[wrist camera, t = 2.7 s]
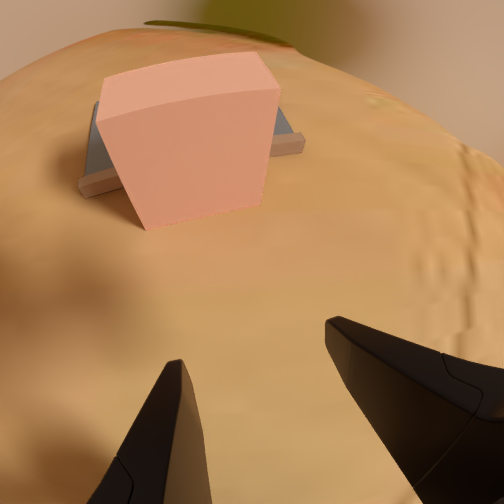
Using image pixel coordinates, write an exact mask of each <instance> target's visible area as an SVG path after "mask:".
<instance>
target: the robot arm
mask: <svg viewBox="0 0 504 504" xmlns="http://www.w3.org/2000/svg"><path fill="white" fill-rule="evenodd" d="M325 345H326V348H327V350H328V352H329V354H330V356H331V358H332V360H333V362H334V364H335V366H336V368H337V370H338V372H339V374H340V376H341V378H342V380H343V382H344V384H345V386H346V388H347V389H348V391H349V392H350V394H351V396H352V397H353V399H354V400H355V402H356V403H357V405H358V406H359V408H360V409H361V411H362V412H363V414H364V415H365V417H366V418H367V420H368V421H369V423H370V424H371V426H372V427H373V429H374V430H375V432H376V433H377V435H378V436H379V438H380V439H381V441H382V442H383V444H384V445H385V447H386V448H387V450H388V451H389V453H390V454H391V456H392V457H393V459H394V460H395V462H396V463H397V465H398V466H399V468H400V469H401V471H402V472H403V474H404V475H405V477H406V478H407V480H408V481H409V483H410V484H411V486H412V487H413V489H414V491H415V492H416V494H417V495H418V497H419V498H420V500H421V501H422V503H423V504H504V369H502V368H497V367H493V366H488V365H483V364H479V363H475V362H471V361H467V360H464V359H460V358H457V357H454V356H451V355H448V354H445V353H440V352H439V351H436V350H433V349H430V348H427V347H424V346H421V345H418V344H415V343H413V342H410V341H407V340H404V339H401V338H398V337H396V336H393V335H390V334H387V333H385V332H382V331H379V330H376V329H373V328H371V327H368V326H365V325H363V324H360V323H357V322H354V321H352V320H349V319H346V318H344V317H341V316H336V317H333V318H330V319H327V320H326V322H325ZM116 455H117V456H115V457H114V459H113V461H112V463H111V465H110V466H109V468H108V470H107V472H106V473H105V475H104V477H103V479H102V480H101V482H100V484H99V485H98V487H97V488H96V490H95V491H94V493H93V494H92V496H91V497H90V499H89V500H88V502H87V503H86V504H212V499H211V493H210V486H209V478H208V471H207V463H206V455H205V446H204V437H203V430H202V426H201V421H200V417H199V412H198V408H197V403H196V399H195V394H194V389H193V385H192V381H191V379H190V376H189V374H188V371H187V369H186V367H185V364H184V362H183V360H181V359H178V360H173V361H169V362H167V363H166V365H165V367H164V369H163V370H162V372H161V374H160V376H159V378H158V379H157V381H156V383H155V385H154V386H153V388H152V390H151V392H150V394H149V395H148V397H147V399H146V401H145V403H144V404H143V406H142V408H141V410H140V412H139V413H138V415H137V417H136V419H135V421H134V422H133V424H132V426H131V428H130V430H129V432H128V433H127V435H126V437H125V439H124V441H123V443H122V444H121V446H120V448H119V450H118V452H117V454H116Z"/></svg>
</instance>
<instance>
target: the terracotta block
mask: <svg viewBox="0 0 504 504" xmlns="http://www.w3.org/2000/svg"><path fill="white" fill-rule="evenodd" d="M280 93H281V87H280V86H279V84H278V83H277V81H276V80H275V78H274V77H273V75H272V74H271V73H270V71H269V70H268V68H267V67H266V65H265V64H264V63H263V61H262V60H261V59H260V57H259V56H258V54H257V53H256V52H240V53H228V54H218V55H209V56H201V57H194V58H188V59H182V60H176V61H171V62H166V63H161V64H156V65H151V66H147V67H143V68H139V69H135V70H131V71H127V72H124V73H120V74H117V75H113V76H110V77H107V78H105V79H104V83H103V87H102V92H101V96H100V101H99V106H98V111H97V116H96V122H95V123H96V125H97V128H98V130H99V132H100V135H101V137H102V140H103V142H104V144H105V146H106V149H107V151H108V153H109V156H110V158H111V160H112V162H113V165H114V167H115V169H116V171H117V173H118V175H119V178H120V180H121V182H122V184H123V186H124V188H125V190H126V192H127V194H128V196H129V198H130V200H131V202H132V204H133V206H134V208H135V210H136V212H137V214H138V216H139V218H140V220H141V222H142V224H143V226H144V228H145V230H146V231H147V230H151V229H155V228H159V227H163V226H168V225H172V224H176V223H180V222H185V221H189V220H194V219H198V218H203V217H207V216H212V215H216V214H221V213H226V212H231V211H235V210H240V209H245V208H250V207H255V206H260V205H261V200H262V194H263V189H264V183H265V178H266V172H267V166H268V161H269V155H270V150H271V144H272V138H273V133H274V127H275V121H276V116H277V110H278V105H279V99H280Z"/></svg>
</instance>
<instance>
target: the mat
mask: <svg viewBox="0 0 504 504" xmlns="http://www.w3.org/2000/svg"><path fill="white" fill-rule="evenodd" d="M98 106H99V101H97V102H96V106H95V111H94V116H93V121H92V126H91V132H90V138H89V145H88V152H87V160H86V168H85V176H84V177H81V178H79V181H78V189H79V190H80V192H81V193H82V195H83V196H84V198H88V197H92V196H95V195H98V194H102V193H105V192H108V191H112V190H115V189H119V188H123V187H124V186H123V184H122V182H121V180H120V178H119V175H118V173H117V171H116V169H115V167H114V165H113V162H112V160H111V158H110V156H109V153H108V151H107V149H106V146H105V144H104V142H103V140H102V137H101V135H100V132H99V130H98V128H97V125H96V123H95V122H96V116H97V111H98ZM305 141H306V140H305V138H304V137H303V135H302V133H294V132H293V130H292V129H291V127H290V125H289V123H288V121H287V120H286V118H285V116H284V115H283V113H282V111H281V109H280V108H279V106H278V110H277V116H276V121H275V127H274V133H273V138H272V144H271V150H270V155H269V157H273V156H281V155H288V154H296V153H302V151H303V148H304V144H305Z"/></svg>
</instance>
